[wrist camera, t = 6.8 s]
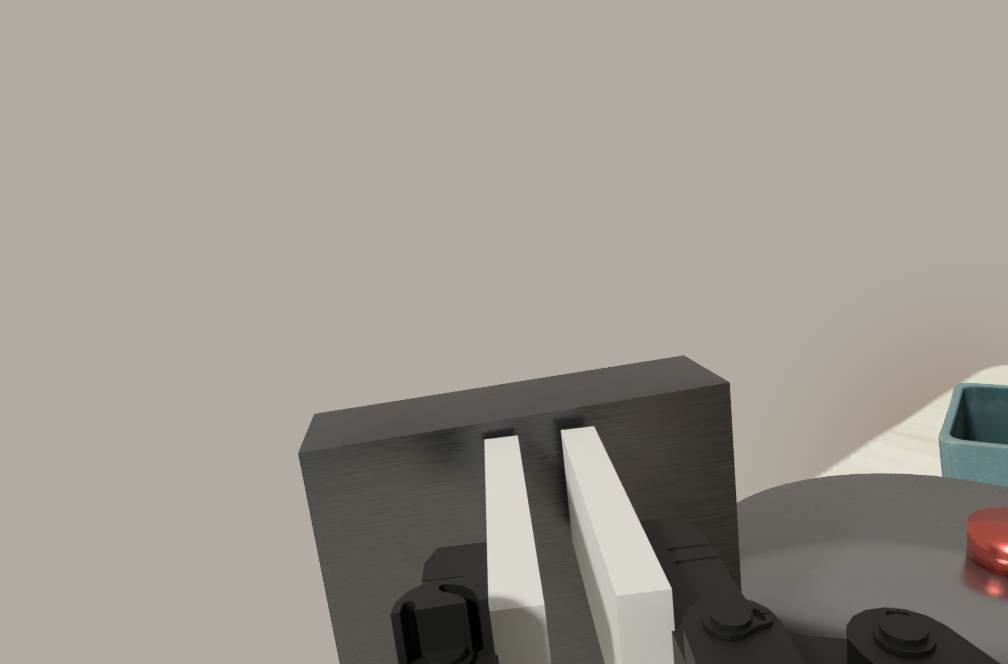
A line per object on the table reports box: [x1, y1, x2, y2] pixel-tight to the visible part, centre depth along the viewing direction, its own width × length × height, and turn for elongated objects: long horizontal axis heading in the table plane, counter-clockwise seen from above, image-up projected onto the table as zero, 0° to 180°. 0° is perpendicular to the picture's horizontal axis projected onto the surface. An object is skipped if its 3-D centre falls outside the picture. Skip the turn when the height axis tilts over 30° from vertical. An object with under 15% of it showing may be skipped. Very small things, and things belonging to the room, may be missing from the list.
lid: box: [298, 356, 1008, 664], centre depth 19 cm, size 23×14×8 cm, turn 98°
